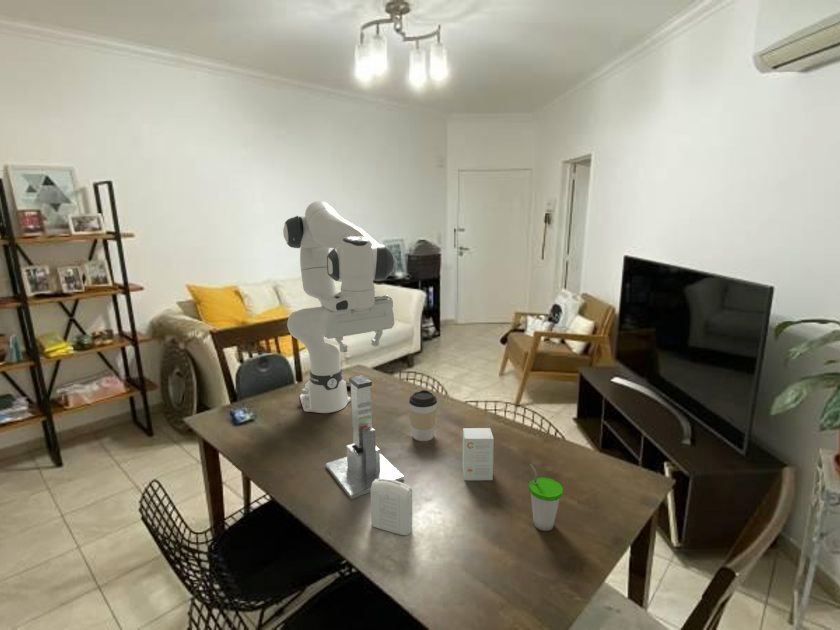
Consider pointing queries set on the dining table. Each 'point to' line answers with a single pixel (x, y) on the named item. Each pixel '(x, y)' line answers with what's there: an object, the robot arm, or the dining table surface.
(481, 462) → the small box
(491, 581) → the dining table surface
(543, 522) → the cup
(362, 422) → the column
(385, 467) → the stand base
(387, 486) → the photo printer
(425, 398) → the coffee cup
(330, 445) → the dining table surface
